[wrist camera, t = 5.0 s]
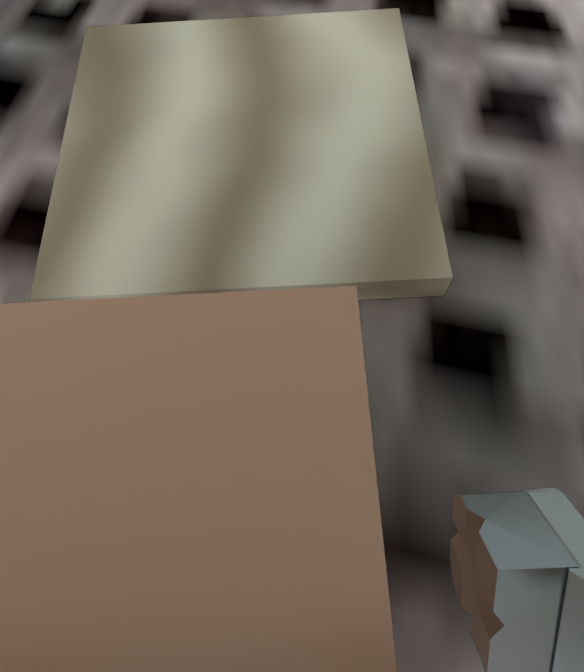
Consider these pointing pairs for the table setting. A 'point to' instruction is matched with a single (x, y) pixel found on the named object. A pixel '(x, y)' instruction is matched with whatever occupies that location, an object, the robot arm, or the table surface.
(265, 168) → the placemat
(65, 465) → the terracotta block
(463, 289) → the table surface
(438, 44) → the table surface
